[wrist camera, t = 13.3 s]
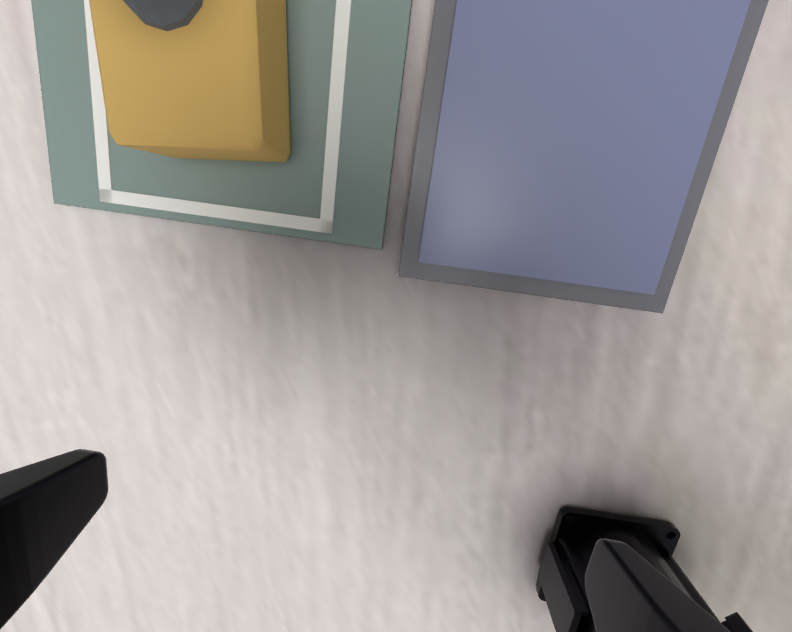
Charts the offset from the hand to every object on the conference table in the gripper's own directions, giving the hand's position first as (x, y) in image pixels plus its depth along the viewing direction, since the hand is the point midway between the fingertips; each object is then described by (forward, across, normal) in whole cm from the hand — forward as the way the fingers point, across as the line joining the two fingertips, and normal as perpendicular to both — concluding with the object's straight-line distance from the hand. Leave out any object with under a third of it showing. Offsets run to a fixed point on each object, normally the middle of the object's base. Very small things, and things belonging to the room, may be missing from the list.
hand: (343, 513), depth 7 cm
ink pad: (+13, -6, -10) cm, 17 cm away
